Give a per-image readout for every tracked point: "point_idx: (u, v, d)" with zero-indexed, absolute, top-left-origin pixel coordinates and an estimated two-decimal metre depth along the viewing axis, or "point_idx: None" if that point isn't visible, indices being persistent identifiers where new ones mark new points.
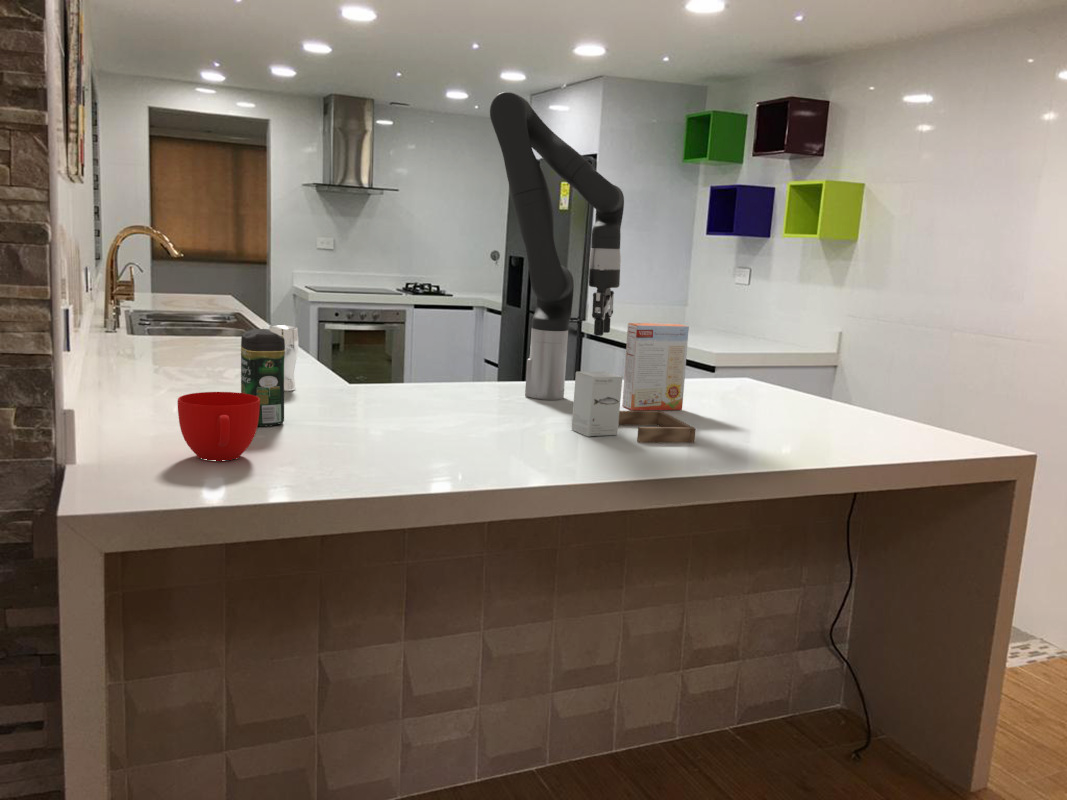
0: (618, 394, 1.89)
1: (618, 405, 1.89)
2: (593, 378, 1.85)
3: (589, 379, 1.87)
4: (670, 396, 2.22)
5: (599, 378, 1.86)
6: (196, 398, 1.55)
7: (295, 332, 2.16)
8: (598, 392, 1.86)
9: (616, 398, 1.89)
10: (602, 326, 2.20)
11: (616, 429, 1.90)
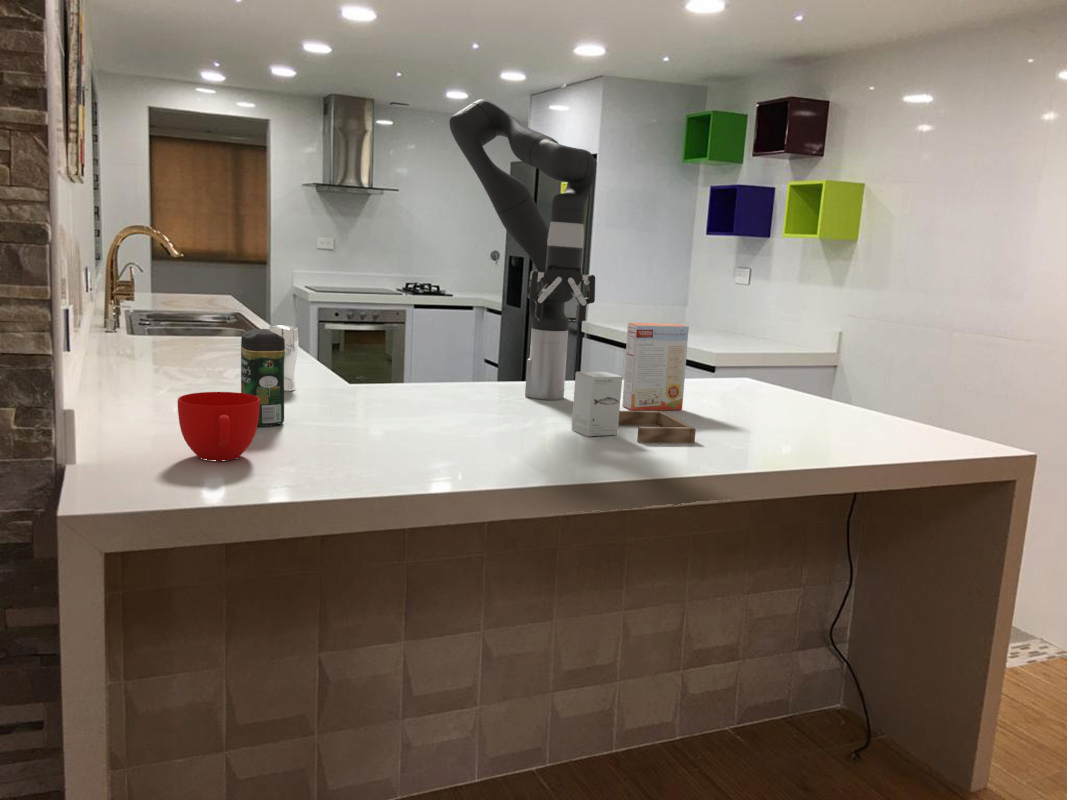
0: (618, 394, 1.89)
1: (618, 405, 1.89)
2: (593, 378, 1.85)
3: (589, 379, 1.87)
4: (670, 396, 2.22)
5: (599, 378, 1.86)
6: (196, 398, 1.55)
7: (295, 332, 2.16)
8: (598, 392, 1.86)
9: (616, 398, 1.89)
10: None
11: (616, 429, 1.90)
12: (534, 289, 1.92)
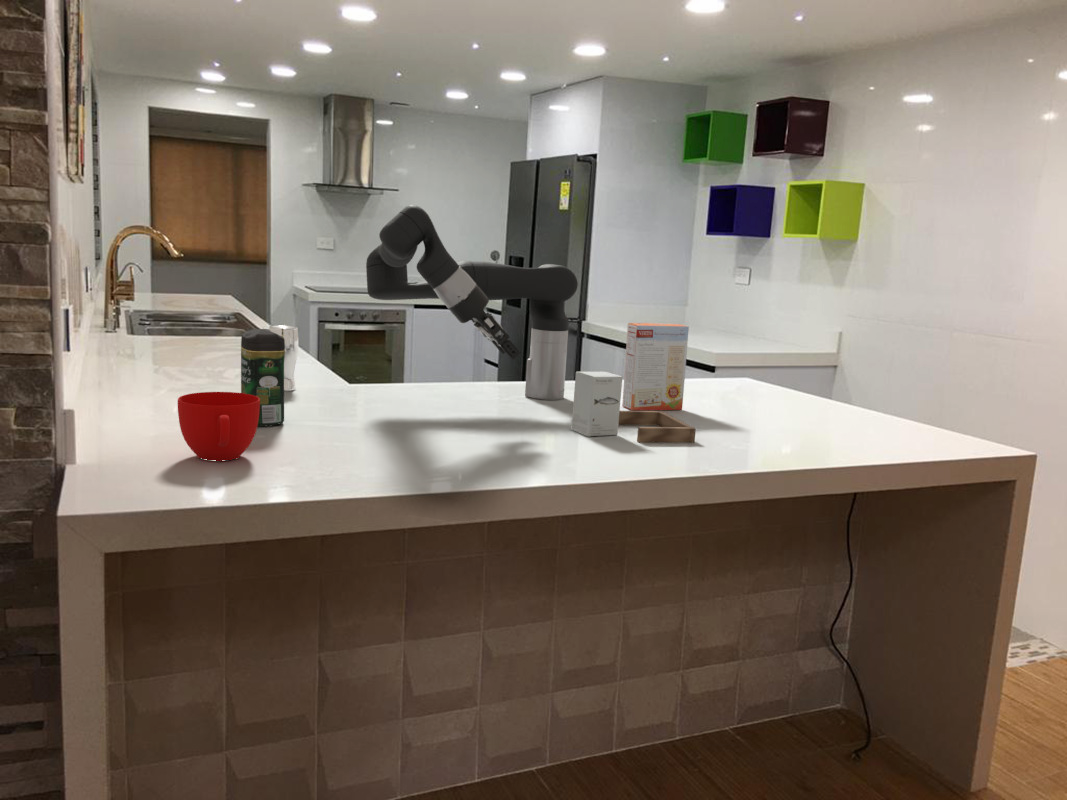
0: (618, 394, 1.89)
1: (618, 405, 1.89)
2: (593, 378, 1.85)
3: (589, 379, 1.87)
4: (670, 396, 2.22)
5: (599, 378, 1.86)
6: (196, 398, 1.55)
7: (295, 332, 2.16)
8: (598, 392, 1.86)
9: (616, 398, 1.89)
10: (513, 345, 1.84)
11: (616, 429, 1.90)
12: None
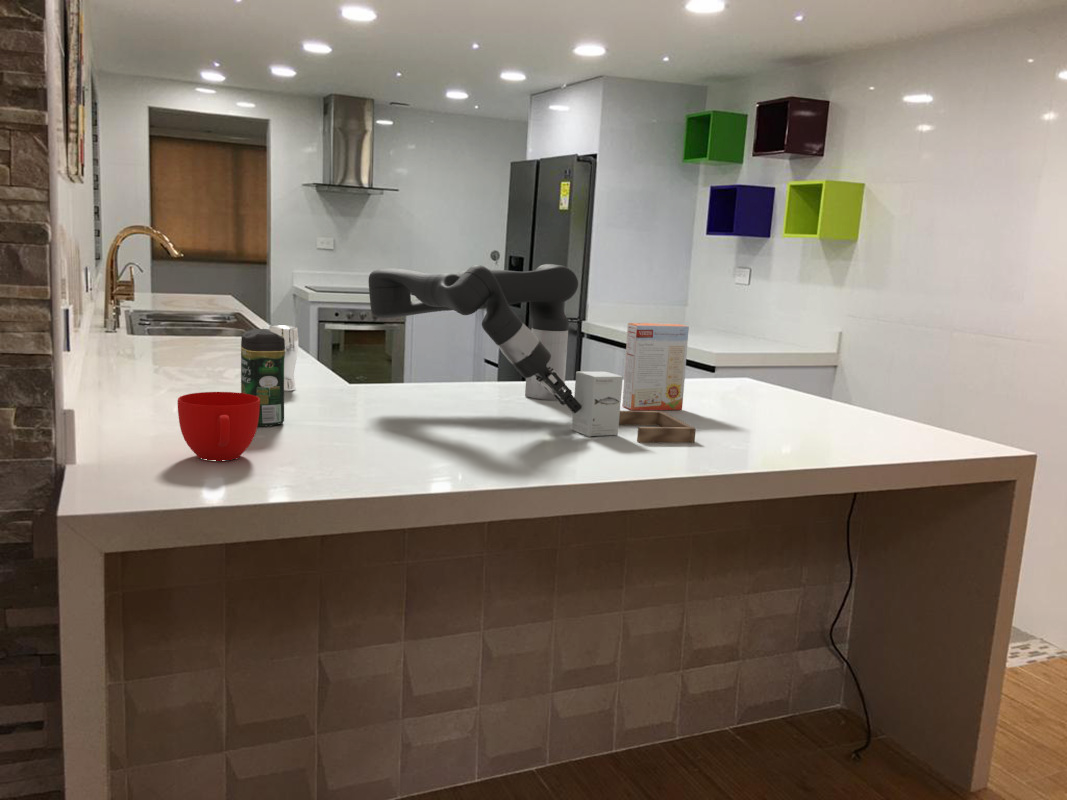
0: (618, 394, 1.89)
1: (619, 405, 1.89)
2: (593, 378, 1.85)
3: (589, 379, 1.87)
4: (670, 396, 2.22)
5: (599, 378, 1.86)
6: (196, 398, 1.55)
7: (295, 332, 2.16)
8: (598, 392, 1.86)
9: (616, 398, 1.89)
10: (574, 399, 1.89)
11: (616, 429, 1.90)
12: None
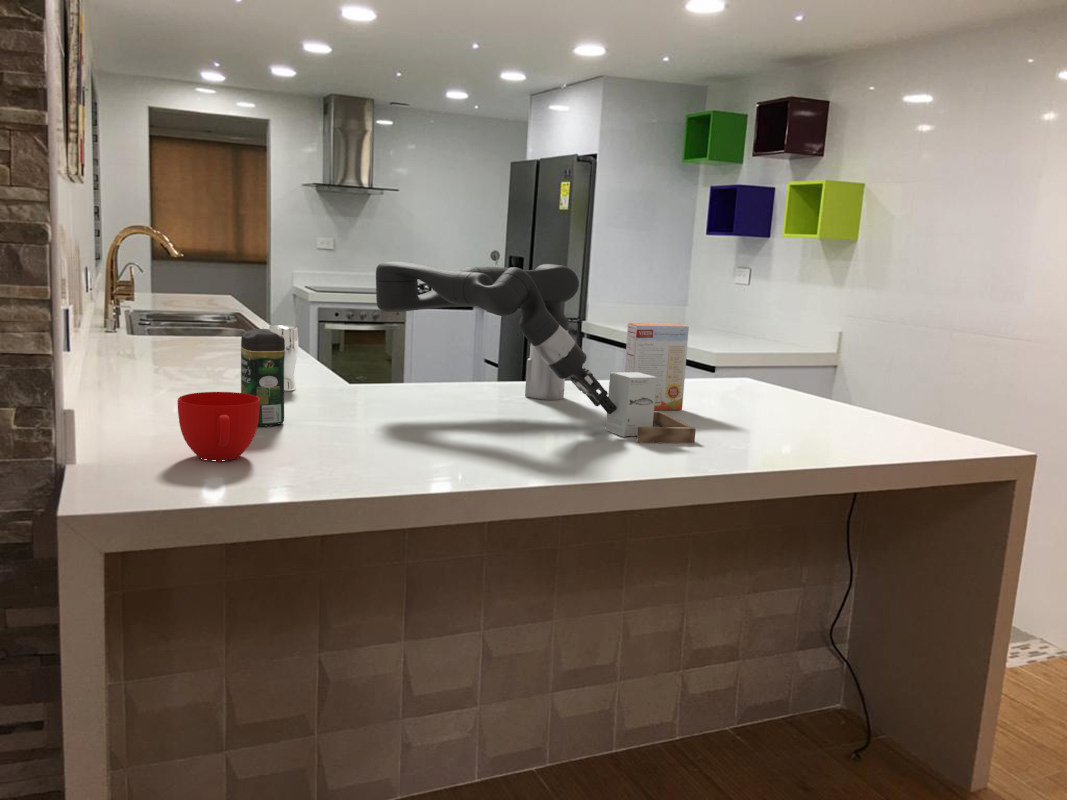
0: (653, 395, 1.91)
1: (653, 406, 1.91)
2: (628, 379, 1.87)
3: (624, 380, 1.88)
4: (670, 396, 2.22)
5: (634, 379, 1.88)
6: (196, 398, 1.55)
7: (295, 332, 2.16)
8: (633, 392, 1.88)
9: (651, 398, 1.90)
10: (610, 400, 1.90)
11: None
12: None
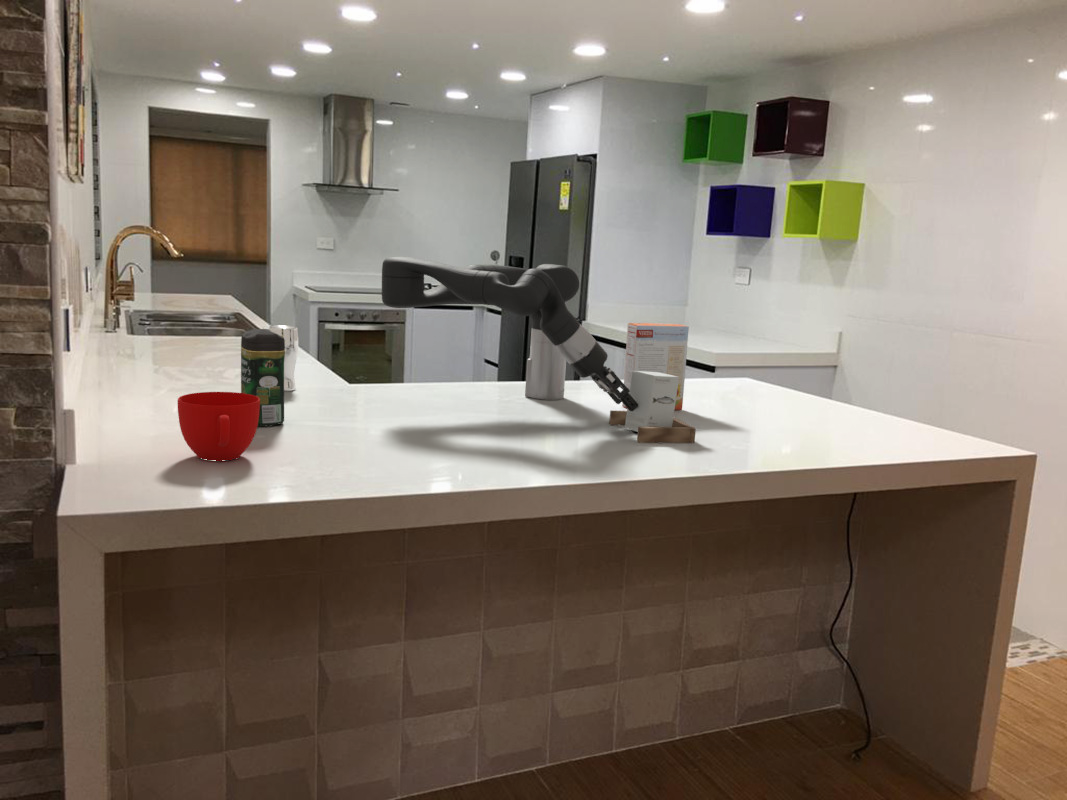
0: (674, 394, 1.93)
1: (674, 405, 1.94)
2: (653, 377, 1.89)
3: (648, 378, 1.90)
4: None
5: (659, 377, 1.90)
6: (196, 398, 1.55)
7: (295, 332, 2.16)
8: (657, 390, 1.90)
9: (672, 398, 1.93)
10: (631, 398, 1.92)
11: None
12: None
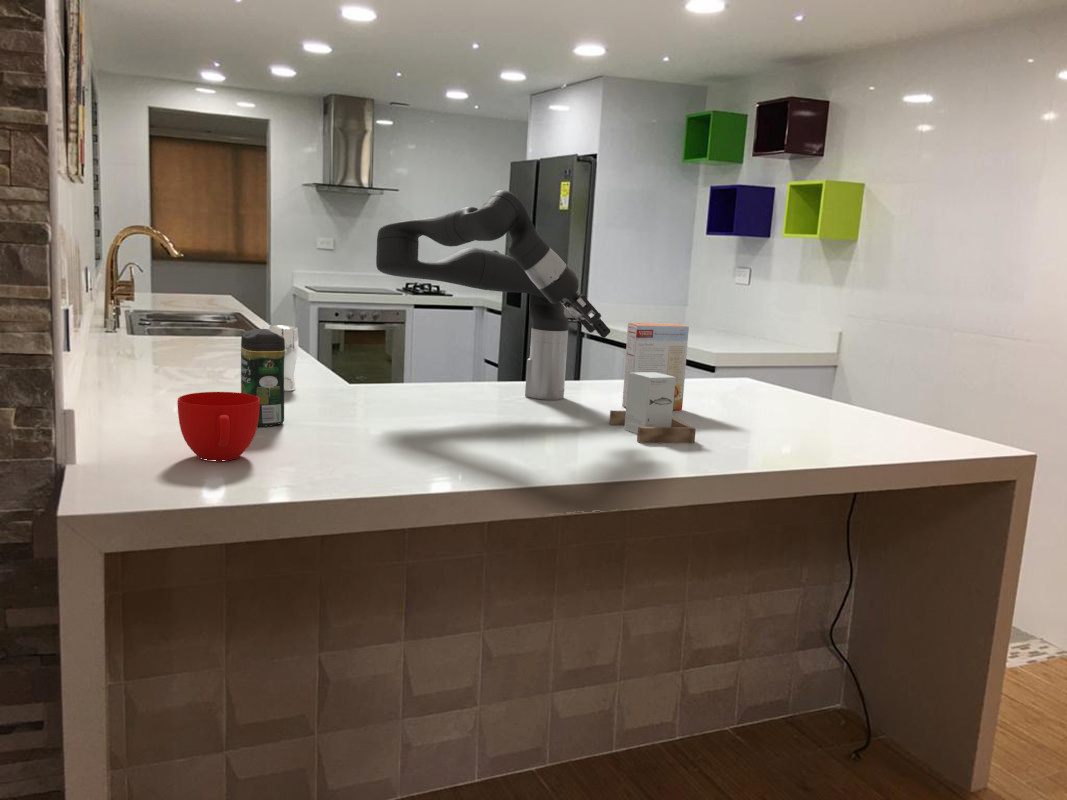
0: (671, 394, 1.93)
1: (671, 405, 1.93)
2: (649, 379, 1.89)
3: (644, 380, 1.90)
4: None
5: (654, 379, 1.90)
6: (196, 398, 1.55)
7: (295, 332, 2.16)
8: (653, 392, 1.90)
9: (670, 398, 1.93)
10: (603, 324, 1.88)
11: None
12: (568, 310, 1.96)
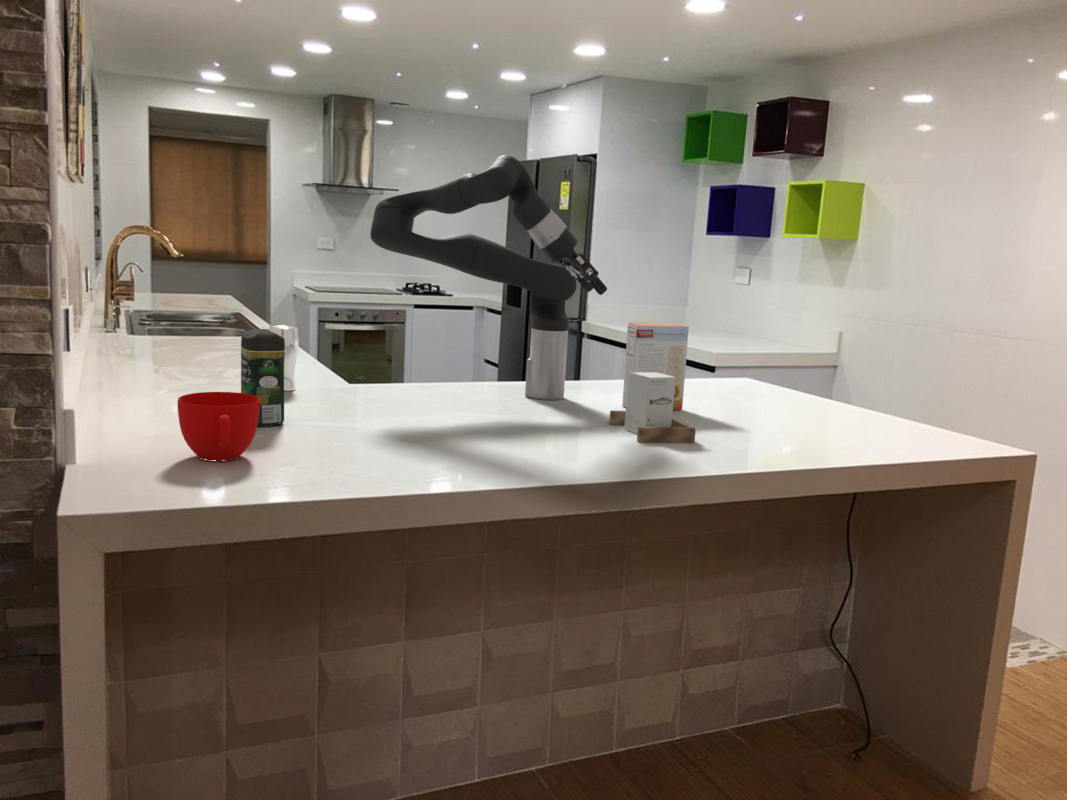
0: (671, 394, 1.93)
1: (671, 405, 1.93)
2: (649, 379, 1.89)
3: (644, 380, 1.90)
4: None
5: (654, 379, 1.90)
6: (196, 398, 1.55)
7: (295, 332, 2.16)
8: (653, 392, 1.90)
9: (670, 398, 1.93)
10: (600, 281, 1.99)
11: None
12: (567, 271, 2.08)
